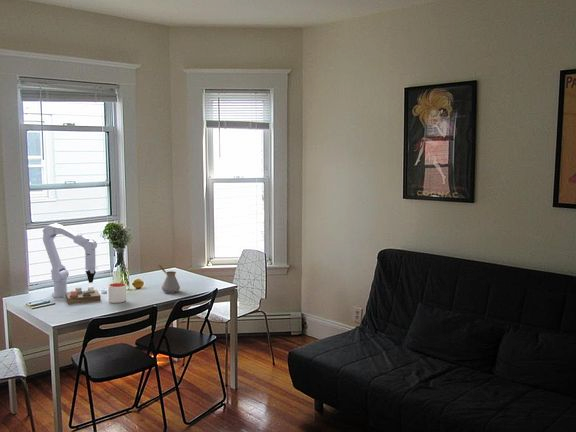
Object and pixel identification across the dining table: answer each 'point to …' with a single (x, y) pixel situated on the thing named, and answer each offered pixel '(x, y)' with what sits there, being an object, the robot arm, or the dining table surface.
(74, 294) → the key terracotta
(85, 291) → the key black
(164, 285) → the coffee pot
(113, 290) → the cup
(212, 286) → the dining table surface
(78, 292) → the key grey
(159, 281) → the dining table surface
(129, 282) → the dining table surface
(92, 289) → the key ivory
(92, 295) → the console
